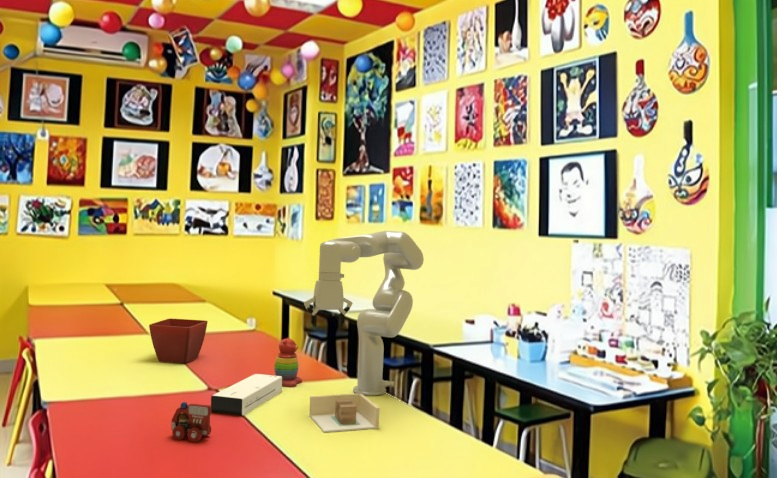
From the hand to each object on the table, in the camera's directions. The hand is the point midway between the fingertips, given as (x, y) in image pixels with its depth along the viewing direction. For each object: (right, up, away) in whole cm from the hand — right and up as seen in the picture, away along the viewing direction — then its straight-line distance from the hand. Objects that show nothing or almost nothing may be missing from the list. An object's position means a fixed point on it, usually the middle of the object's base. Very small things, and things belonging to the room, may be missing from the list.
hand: (327, 325), depth 236 cm
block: (+7, -29, -17) cm, 34 cm away
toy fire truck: (-37, -28, -37) cm, 60 cm away
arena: (+7, -29, -16) cm, 34 cm away
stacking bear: (-19, -27, +30) cm, 45 cm away
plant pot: (-72, -24, +64) cm, 99 cm away
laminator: (-29, -28, +3) cm, 40 cm away
